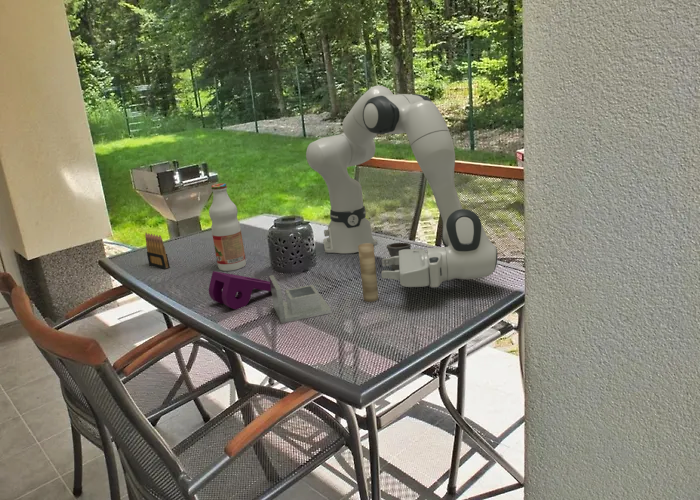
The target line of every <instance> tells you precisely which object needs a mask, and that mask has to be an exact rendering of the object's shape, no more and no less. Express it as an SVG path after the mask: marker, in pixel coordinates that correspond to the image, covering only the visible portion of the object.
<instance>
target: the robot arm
mask: <svg viewBox="0 0 700 500" xmlns="http://www.w3.org/2000/svg"><path fill="white" fill-rule="evenodd" d="M342 131H343V132H341V133H340V134H336V135H331V136H324V137H320V138H319V139H317V140H313V141H311V142H310V143H309V144H308V145H307V148H306V152H305V159H306V161H307V164H308V166H309V167H310V168H311V169H312V170H314V171H315V172H317V173H318V174H319V175H320V176H321V177H322V179H323V180H324V182H325V185H326V187H327V190H328V196H329V203H330V210H329V212H330V213H329V217H330V222H329V224H328V226H327V229H324V230H323V234H324V237H326V238H323V239H322V240H323V241H322V243H323V248H324V249H323V250H324V252H325V253H327V254H328V253H333V254H335V253H336V254H354V253H359V249H358V246H359V245H360V244H364V243H371V244H373V245H374V246H375V245H377V244H378V240H377V239H375V238H373V231H372V230H373V229H372V225H371V221H370V220H369V219H367V218H366V217H367V215H366V211H367V210H366V208H365V206H364V201H363V200H364V199H363V189H362V188H363V187H362V184H361V183H360V182H359V181H358V180H356V179H355V178H352V177H351V176H350V175H349V173H348V172H349V171H348V167H353V166H354V167H355V166H359V165H361V164H364V163H365V162H368V161H370V160H372V159H373V158H374V156H375V153H376V142H375V138H376V137H377V136H378V135H386V134H387V135H399V134H406V136H407V139H408V142H409V145H410V148H411V151H412V153H413V155H414V158H415V160H416V162H417V165H418V166H419V169H420V170H421V172H422V173H423V175H424V177H425V179H426V181H427V183H428V184H429V186H430V189H431V191H432V194H433V197H434V199H435V202H436V206H437V210H438V212H439V215H440V219H441V223H442V225H441V226H442V229H441V242H442V245H443V246H441V247H440V246H439V247H427V248H426V250H425V249H423V248H410V249H403V250H400V251H399V256H393V257H389V258H382V259H381V266H382V267H389V266H392V265H393V264H395V265H399V270H389V269H383V270H381V279H383V280H384V279H390V280H395V281H398V280H399V282H400V286H403V287H406V288H418V287H421V288H422V287H428V286H430V288H438V287H440V286H441V284H442V283H443V282H446V281H447V282H448V281H452V280H454V279H459V280H473V279H480V278H486V277H489V276H491V275H492V274H494V272H495V271H496V269H497V265H498V258H499V257H498V256H499V253H498V249H497V245H495V244H494V243H493V242H492V241H491V240H490V238H489V237H488V235H487V233H486V231H485V228H484V226H483V224H482V221H481V218H480V217H479V215H478V214H477V213H475V212H474V211H473V210H470V209H466V208H463V207H462V204H461V201H460V198H459V196H458V195H459V194H458V192H457V188H456V184H455V166H456V152H455V146H454V141H453V138H452V135H451V133H450V129H449V128H448V125H447V123H446V121H445V118H444V117H443V115H442V113H441V111H440V110H439V108H438V107H437V105H436V104H435V103H434V102H433V100H432V99H430V97H428V96H426V95H424V94H419V93H417V94H416V93H415V94H410V93H409V94H407V93H397V94H394V93H393V92H392V90H390V89H389V88H388V87H386V86H383V85H374V86H372V87H370V88H369V89H368V90H367V91H365V92H364V93H363V94H362V95H361V96H360V97H359V98H358V99H357V100H356V102H355V104H353V105H352V107H351V109H350V111H348V113H347V114H346V116H345V117H344V119H343V121H342Z"/></svg>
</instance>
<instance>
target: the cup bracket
mask: <svg viewBox="0 0 700 500" xmlns="http://www.w3.org/2000/svg"><path fill="white" fill-rule="evenodd" d="M268 279H269V280H268V281H269V282H270V286H271V291H270V293H271V298H272V306H273V310H274V311H275V313H276V316H277V318H278V319H279V322H280V324H285V323H289V322H295V321H300V320H304V319H309V318H313V317H318V316H319V317H320V316H324V315H327V314H332V313H333V312H332V308H331V307H330V305H329V304H328V303H327V301H326V300H325V299H324V297H323V296H322V295H321V294H320V293H319V291H318V290H317V288H316V287H315V286H314V284H310V285H305V286H299V287H295V288H289V289H285V290H284V293H285V294H284V295H285V300H286V301H285V300H284V299H283V294H282V293H283V292H282V288H281V285H279V283H278V281H277V279H276V277H275V276H274V275H273V274H272V275H269V276H268Z"/></svg>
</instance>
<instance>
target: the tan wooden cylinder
mask: <svg viewBox="0 0 700 500" xmlns="http://www.w3.org/2000/svg"><path fill="white" fill-rule="evenodd" d="M374 246H375V245H373V244H371V243H364V244H360V245H359V246H358V249H359V252H358V260H359V266H360V267H359V268H360V276H361V285H362V286H361V287H362V295H363V301H364V302H367V303H368V302H370V303H372V302H375V301H376V302H377V301H379V290H378V278H377V268H376V266H377V265H376V256H375V247H374Z"/></svg>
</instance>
